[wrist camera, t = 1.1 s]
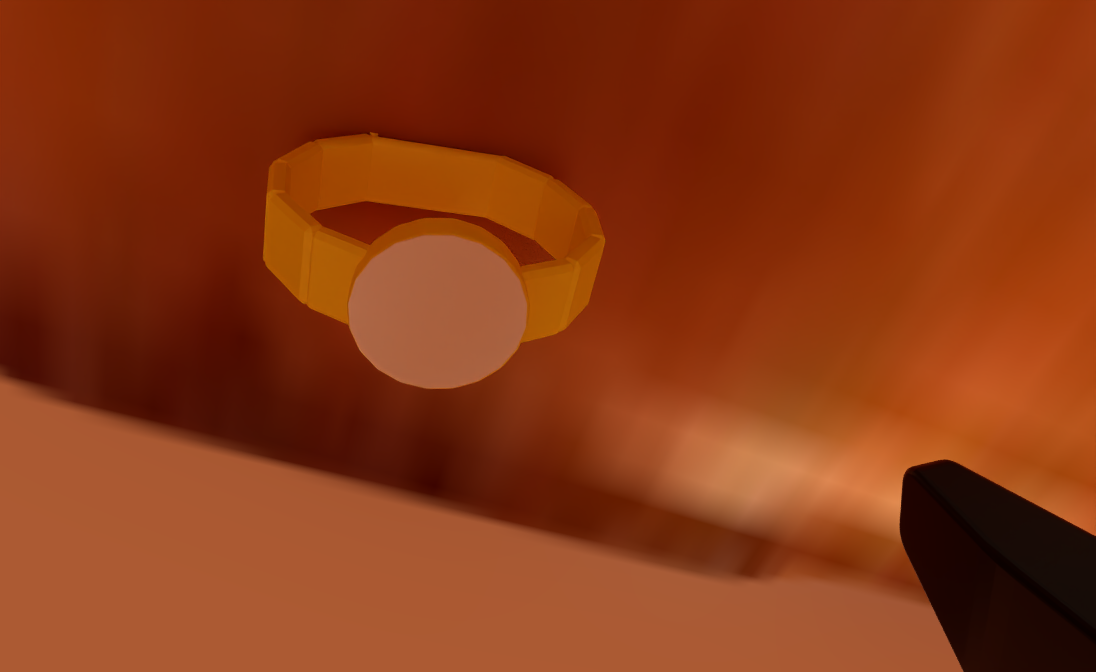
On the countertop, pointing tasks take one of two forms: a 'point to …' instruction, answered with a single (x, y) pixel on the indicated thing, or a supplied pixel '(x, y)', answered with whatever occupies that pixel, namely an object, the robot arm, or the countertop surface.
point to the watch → (430, 254)
